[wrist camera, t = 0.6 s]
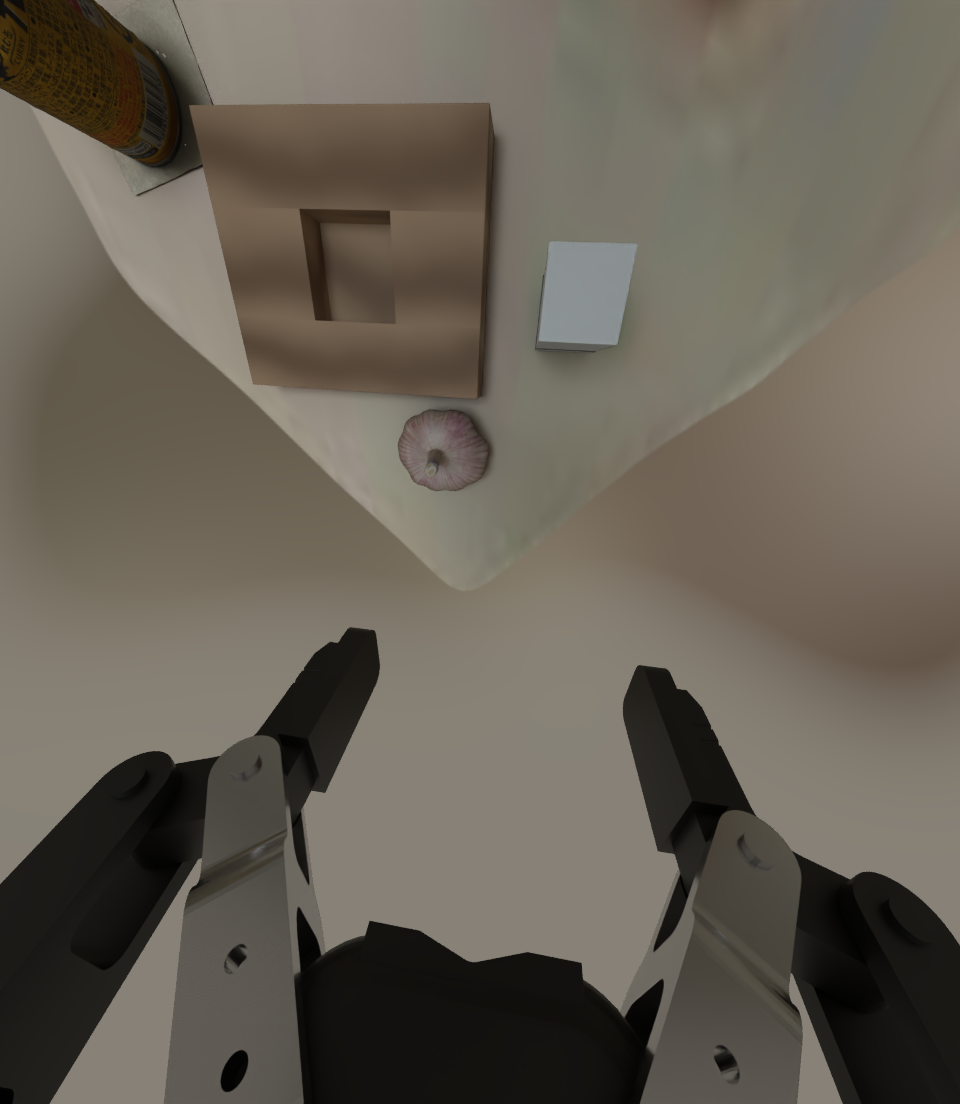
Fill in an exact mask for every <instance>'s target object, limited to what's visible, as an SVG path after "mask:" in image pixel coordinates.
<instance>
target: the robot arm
mask: <svg viewBox="0 0 960 1104" xmlns="http://www.w3.org/2000/svg"><path fill="white" fill-rule="evenodd" d="M379 670H380V662H379V654H378V646H377V638H376V633H375V631H374V630H368V629H360V628H352V627H351V628H348V629H347V631H346V632H345V634H344V635H343V636H342V638H341V639H340V641H339V642H338V643H334V642H329V643H328V644H327V645H325V646H324V647H323V648H321V649H320V650H319V651H317V652H316V653H315V654H314V655H313V657H312V658H311V659H310V661H309V662H308V663H307V665H306V666H305V667H304V671H302V672H301V673H300V674H299V676H298V677H297V679H296V681H295V683H293V684H292V685H291V687H290V688H289V690H288V691H287V692H286V694H285V695H284V697H283V698H282V699H281V701H280V702H279V704H278V705H277V706H276V708H275V709H274V710H273V712H272V713H271V715H270V716H269V717H268V719H267V720H266V721H265V723H264V724H263V726H262V727H261V728H260V730H259V731H258V732H257V733H256V734H255V735H254V736H253V737H249V738H246V739H244V740H241V741H239V742H238V743H236V744H234V745H233V746H231V747H230V748H228V749H227V750H226V751H225V752H224V753H223V754H222V755H221V756H217V757H213V758H208V759H201V760H195V761H190V762H184V763H178V764H174V762H173V760H172V759H171V757H170V756H169V755H168V754H166V753H164V752H160V751H152V752H146V753H142V754H139V755H137V756H134V757H132V758H130V759H127V760H126V761H124V762H122V763H121V764H119V765H117V766H116V767H114V768H113V769H112V770H110V771H109V772H108V773H107V774H105V775H104V776H103V777H102V778H101V779H100V780H99V782H97V783H96V784H95V785H94V787H93V788H92V789H91V790H90V791H89V792H88V793H87V794H86V795H85V796H84V797H83V798H82V799H81V800H80V801H79V802H78V803H77V804H76V805H75V806H74V808H73V809H72V810H71V811H70V812H69V813H68V814H67V815H66V816H65V817H64V818H63V819H62V820H61V821H60V822H59V823H58V824H57V825H56V826H55V828H54V829H52V831H51V832H50V833H49V834H48V835H47V836H46V837H45V838H44V839H43V840H42V841H41V842H40V843H39V844H38V845H37V846H36V847H35V848H34V849H33V850H32V852H31V853H30V854H29V855H28V856H27V857H26V858H25V859H24V860H23V861H22V862H21V863H20V864H19V865H18V866H17V867H16V868H15V869H14V870H13V872H12V873H11V874H10V875H9V876H8V877H7V878H6V879H5V880H4V881H3V882H2V883H1V884H0V1104H50V1102H51V1100H52V1098H53V1097H54V1095H55V1094H56V1092H57V1090H58V1089H59V1087H60V1085H61V1084H62V1082H63V1081H64V1079H65V1077H66V1076H67V1074H68V1072H69V1071H70V1069H71V1067H72V1066H73V1064H74V1062H75V1061H76V1059H77V1058H78V1056H79V1054H80V1053H81V1051H82V1049H83V1048H84V1046H85V1044H86V1043H87V1041H88V1039H89V1038H90V1036H91V1034H92V1033H93V1031H94V1029H95V1028H96V1026H97V1025H98V1023H99V1021H100V1020H101V1018H102V1016H103V1015H104V1013H105V1012H106V1010H107V1008H108V1006H109V1005H110V1003H111V1002H112V1000H113V998H114V997H115V995H116V993H117V992H118V990H119V989H120V987H121V985H122V983H123V982H124V980H125V979H126V977H127V975H128V974H129V972H130V970H131V969H132V967H133V965H134V964H135V962H136V960H137V959H138V957H139V956H140V954H141V952H142V951H143V949H144V947H145V946H146V944H147V942H148V941H149V939H150V937H151V936H152V934H153V933H154V931H155V929H156V928H157V926H158V924H159V923H160V921H161V919H162V918H163V916H164V915H165V913H166V911H167V910H168V908H169V906H170V905H171V903H172V901H173V900H174V898H175V896H176V895H177V893H178V891H179V890H180V888H181V886H182V885H183V883H184V882H185V880H186V878H187V877H188V875H189V873H190V872H191V870H192V869H193V867H194V865H195V864H196V862H197V860H198V859H200V858H202V865H201V874H200V879H199V882H198V883H197V885H195V886H194V887H192V888H191V890H190V892H189V893H188V896H187V899H186V903H185V908H184V915H183V924H182V935H181V943H180V953H179V963H178V973H177V982H176V992H175V1002H174V1011H173V1021H172V1031H171V1041H170V1051H169V1060H168V1070H167V1079H166V1089H165V1099H164V1104H797V1097H798V1086H799V1074H800V1063H801V1052H802V1038H803V1033H802V1021H801V1016H800V1013H799V1010H798V1009H797V1007H796V1006H795V1005H794V1004H792V1002H791V1000H790V997H789V982H790V974H791V973H792V974H793V976H794V978H795V981H796V984H797V986H798V989H799V991H800V994H801V996H802V999H803V1002H804V1005H805V1007H806V1010H807V1012H808V1015H809V1017H810V1020H811V1023H812V1025H813V1028H814V1030H815V1033H816V1035H817V1038H818V1041H819V1043H820V1046H821V1048H822V1051H823V1053H824V1056H825V1059H826V1061H827V1064H828V1067H829V1069H830V1071H831V1074H832V1077H833V1079H834V1082H835V1085H836V1087H837V1090H838V1092H839V1095H840V1098H841V1100H842V1102H843V1104H960V945H959V944H958V942H957V941H956V939H955V938H954V936H953V935H952V933H951V932H950V931H949V930H948V928H947V927H946V925H945V924H944V923H943V922H942V921H941V919H940V918H939V917H938V916H937V915H936V914H935V913H934V912H933V911H932V910H931V909H930V908H929V907H928V906H927V905H926V904H925V903H924V902H923V901H922V900H921V899H920V898H919V897H917V896H916V895H915V894H913V893H912V892H911V891H910V890H908V889H907V888H905V887H904V886H902V885H901V884H899V883H898V882H896V881H894V880H892V879H891V878H888V877H886V876H884V875H881V874H878V873H874V872H862V873H860V874H858V875H856V876H855V877H853V878H852V879H848V878H846V877H844V876H842V875H839V874H837V873H835V872H833V871H831V870H829V869H827V868H825V867H822V866H821V865H819V864H816V863H814V862H812V861H810V860H808V859H806V858H804V857H802V856H800V855H798V854H796V853H795V852H793V851H792V850H791V849H790V848H789V846H788V845H787V843H786V842H785V841H784V839H783V838H782V837H781V836H780V835H779V834H778V833H777V832H776V831H775V830H774V829H773V828H772V827H771V826H769V825H768V824H767V823H765V822H764V821H762V820H761V819H759V818H758V817H757V816H756V815H755V814H754V812H753V810H752V808H751V806H750V804H749V802H748V800H747V798H746V796H745V794H744V792H743V790H742V788H741V786H740V784H739V782H738V780H737V778H736V776H735V774H734V772H733V770H732V768H731V766H730V764H729V762H728V760H727V757H726V756H725V753H724V752H723V749H722V747H721V746H719V743H718V739H717V737H716V735H715V733H714V731H713V730H712V729H711V725H710V723H709V721H708V719H707V717H706V715H705V713H704V711H703V709H702V707H701V706H700V705H699V704H698V702H697V701H696V700H695V699H694V698H693V697H692V696H691V695H690V694H689V693H688V691H687V690H681V689H677V688H676V685H675V683H674V681H673V678H672V676H671V674H670V672H669V671H668V670H667V669H665V668H657V667H649V666H642V665H639V666H637V668H636V670H635V672H634V675H633V677H632V680H631V682H630V685H629V688H628V690H627V693H626V695H625V698H624V703H623V717H624V722H625V726H626V730H627V734H628V738H629V741H630V745H631V749H632V753H633V757H634V760H635V765H636V769H637V772H638V776H639V780H640V784H641V788H642V792H643V795H644V799H645V803H646V807H647V811H648V815H649V819H650V822H651V826H652V830H653V834H654V838H655V842H656V846H657V849H658V851H660V852H666V853H672V854H675V857H676V860H677V863H678V867H679V870H678V871H677V873H676V876H675V878H674V881H673V884H672V887H671V889H670V892H669V894H668V897H667V900H666V903H665V905H664V908H663V911H662V913H661V916H660V919H659V921H658V924H657V927H656V930H655V932H654V935H653V938H652V940H651V943H650V946H649V948H648V951H647V953H646V955H645V958H644V960H643V962H642V963H641V965H640V967H639V969H638V971H637V972H636V974H635V976H634V979H633V981H632V983H631V985H630V987H629V990H628V992H627V995H626V997H625V1000H624V1003H623V1005H622V1008H621V1011H620V1012H619V1011H618V1009H617V1008H616V1007H615V1006H614V1005H613V1004H612V1003H611V1002H610V1001H609V1000H608V999H607V998H606V997H605V996H604V995H603V994H601V993H600V992H599V991H598V990H597V989H596V988H594V987H593V986H591V984H589V983H587V982H586V981H584V980H583V977H582V976H583V975H582V964H581V963H579V962H574V961H568V960H564V959H559V958H554V957H549V956H544V955H539V954H534V953H529V952H526V953H521V954H516V955H511V956H506V957H501V958H495V959H491V960H485V961H480V962H469V961H466V960H465V959H463V958H462V957H460V956H459V955H457V954H455V953H454V952H452V951H451V950H449V949H447V948H446V947H444V946H443V945H441V944H440V943H438V942H436V941H435V940H433V939H432V938H430V937H429V936H427V935H426V934H424V933H422V932H421V931H418V930H413V929H408V928H403V927H398V926H393V925H388V924H383V923H378V922H373V921H370V922H369V925H368V928H367V932H366V935H365V936H360V937H357V938H354V939H351V940H348V941H346V942H343V943H342V944H340V945H338V946H336V947H334V948H332V949H331V950H329V951H328V952H325V944H324V937H323V930H322V924H321V918H320V913H319V909H318V904H317V900H316V896H315V891H314V886H313V878H312V871H311V863H310V855H309V847H308V839H307V831H306V824H305V816H304V809H303V806H304V804H305V802H306V800H307V798H308V796H309V794H310V792H311V791H317V792H323V793H325V792H326V790H327V788H328V785H329V783H330V781H331V779H332V777H333V775H334V773H335V770H336V768H337V766H338V764H339V762H340V760H341V758H342V756H343V753H344V751H345V749H346V747H347V745H348V743H349V741H350V738H351V736H352V734H353V732H354V729H355V728H356V726H357V724H358V721H359V719H360V717H361V715H362V713H363V711H364V709H365V707H366V704H367V702H368V700H369V698H370V696H371V694H372V692H373V689H374V687H375V685H376V683H377V680H378V676H379Z"/></svg>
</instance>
